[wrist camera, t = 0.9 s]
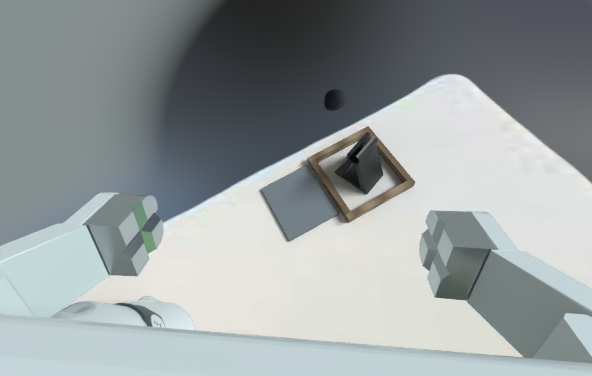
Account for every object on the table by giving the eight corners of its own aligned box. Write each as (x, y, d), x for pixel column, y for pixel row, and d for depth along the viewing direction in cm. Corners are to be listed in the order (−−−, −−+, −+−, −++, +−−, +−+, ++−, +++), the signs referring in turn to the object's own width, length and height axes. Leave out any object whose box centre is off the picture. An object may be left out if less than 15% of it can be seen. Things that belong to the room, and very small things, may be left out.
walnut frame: (348, 222, 64) (349, 219, 63) (308, 162, 72) (307, 157, 70) (413, 186, 66) (415, 182, 65) (367, 131, 74) (368, 126, 72)
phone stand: (383, 175, 68) (392, 145, 58) (367, 194, 67) (373, 167, 56) (350, 154, 72) (353, 122, 61) (334, 172, 70) (334, 142, 59)
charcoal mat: (289, 241, 64) (289, 240, 64) (261, 190, 70) (260, 188, 70) (338, 214, 66) (338, 213, 65) (306, 166, 72) (306, 164, 71)
